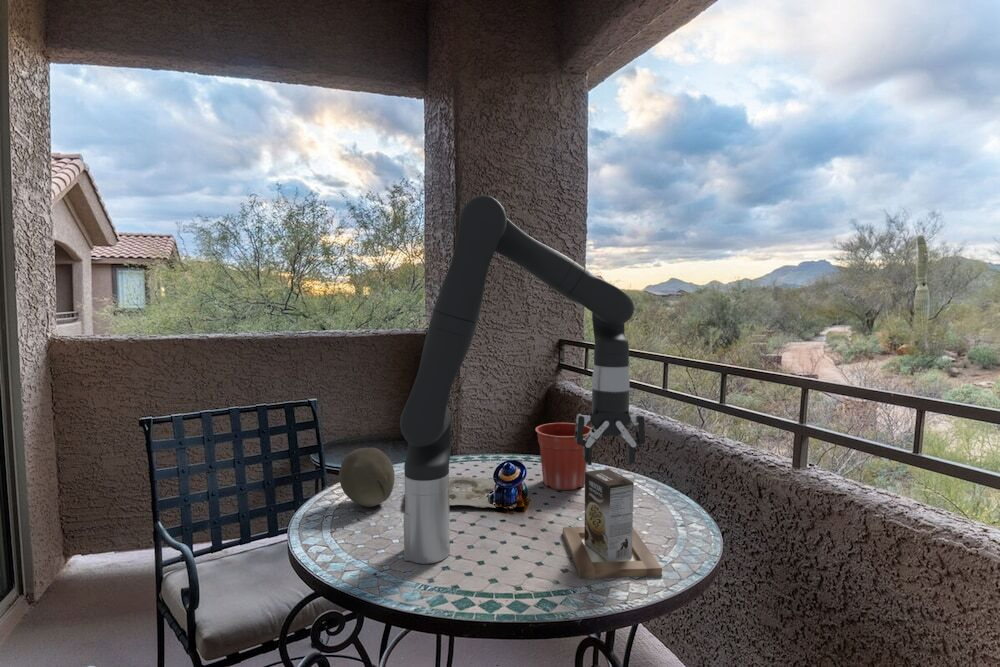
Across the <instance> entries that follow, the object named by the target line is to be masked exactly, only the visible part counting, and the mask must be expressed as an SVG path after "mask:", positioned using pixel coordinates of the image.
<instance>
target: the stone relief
mask: <svg viewBox="0 0 1000 667" xmlns="http://www.w3.org/2000/svg"><path fill="white" fill-rule="evenodd" d="M493 479H494V478H484V477H480V478H479V477H477V478H475V477H468V476H467V477H466V476H449V506H460V505H461V506H471V507H475V508H484V509H485V508H496V507H495V506H494V505H492V504H489V501H488V497H489V496H486V495H487V494H491V493H490V492H492V491H493V490H494V486H495V484H494V480H493ZM454 487H458V489H459V490H460V491H459V490H456V491H455V489H454ZM452 489H454V490H452ZM463 489H464V490H463ZM468 489H471V491H469V490H468ZM450 498H451V499H450ZM496 509H497V508H496Z"/></svg>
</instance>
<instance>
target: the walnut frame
mask: <svg viewBox="0 0 1000 667" xmlns="http://www.w3.org/2000/svg"><path fill="white" fill-rule="evenodd" d="M632 528H633V529H632V557H631V558H627V559H623V560H619V561H614V562H606V561H605V560H604V559H602V558H601V557H600V556H599V555H597V554H596V553H595V552H594V551H592V550H591V549H590V548H589V547H588V546H586V545H585V544H584V538H585V526H565V527H564V526H563V527H562V535H563V538H564V541H565V543H566V546H567V549H568V551H569V554H570V556H571V559H572V561H573V565H574V566H575V569H576V572H577V574H578V577H579V579H593V578H595V579H599V578H622V577H623V578H627V577H629V578H630V577H656V576H657V577H662V576H663V568H662V566H661V565H660V563H659V562H658V561H657V559H656V558H655V555H653V553H652V551H651V550H650V549H649V548H648V546H647V545H646V544H645V542H644V540H643V539H642V538H641V536H640V535H639V534H638V532H637V531H636V530H635V528H634V527H632Z"/></svg>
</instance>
